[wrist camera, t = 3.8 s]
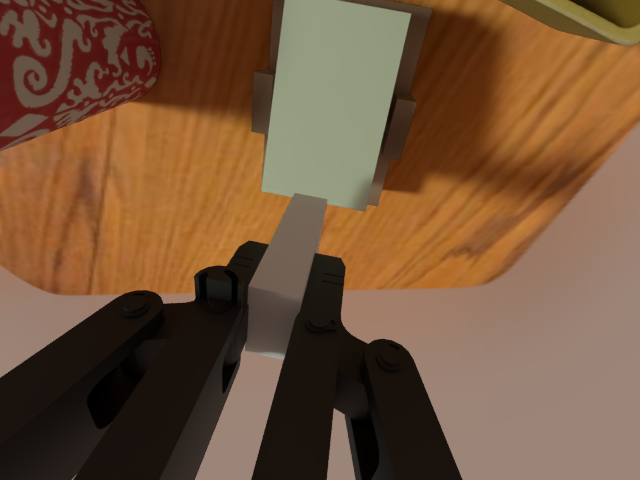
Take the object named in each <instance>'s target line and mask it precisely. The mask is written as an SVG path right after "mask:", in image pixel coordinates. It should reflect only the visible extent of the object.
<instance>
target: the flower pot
mask: <svg viewBox="0 0 640 480" xmlns="http://www.w3.org/2000/svg"><path fill="white" fill-rule="evenodd" d="M499 1H501V2H503V3H505V4H507V5H509V6H511V7H513V8H515V9H517V10H519V11H521V12H523V13H525V14H527V15H528V16H530V17H532V18H534V19H536V20H538V21H540V22H542V23H544V24H545V25H547V26H549V27H551V28H554V29H556V30H559V31H562V32H566V33H570V34H574V35H578V36H582V37H587V38H591V39H595V40H600V41H604V42H608V43H613V44H618V45H624V46H626V45H635V44H638V43H639V42H640V0H499Z"/></svg>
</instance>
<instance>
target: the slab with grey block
mask: <svg viewBox="0 0 640 480" xmlns="http://www.w3.org/2000/svg"><path fill="white" fill-rule="evenodd" d="M339 1H344V2H350V3H355V4H361V5H366V6H372V7H377V8H383V9H388V10H394V11H400V12H405V13H411V17H410V21H409V26H408V30H407V34H406V39H405V43H404V47H403V52H402V56H401V60H400V64H399V69H398V73H397V77H396V82H395V86H394V90H393V95H392V99H391V103H390V108H389V112H388V116H387V121H386V125H385V129H384V134H383V138H382V142H381V147H380V151H379V155H378V159H377V164H376V168H375V172H374V177H373V181H372V185H371V190H370V194H369V198H368V203H367V204H368V205H373V206H378V203H379V199H380V196H381V192H382V189H383V185H384V182H385V178H386V174H387V171H388V167H389V164H390V160H391V158H392V159H397V160H400V159H401V155H402V152H403V148H404V145H405V142H406V138H407V135H408V132H409V128H410V125H411V121H412V118H413V115H414V111H415V108H416V104H417V102H416V100H415V99H414V98H413V97H412V95H411V94H410V93H409V92H410V88H411V85H412V81H413V78H414V74H415V70H416V67H417V63H418V60H419V56H420V53H421V49H422V45H423V42H424V38H425V35H426V31H427V27H428V24H429V20H430V17H431V13H432V10H433V9H432V8H426V7H421V6H415V5H410V4H404V3H399V2H393V1H387V0H339ZM284 2H285V0H273V10H272V26H271V43H270V59H269V68H266V69H262V70H259V71H255V72H254V80H253V106H252V132H257V133H262V134H265V141H264V158H263V172H264V164H265V156H266V148H267V140H268V132H269V124H270V116H271V108H272V99H273V91H274V83H275V75H276V67H277V59H278V51H279V43H280V35H281V26H282V18H283V10H284ZM262 181H263V174H262Z"/></svg>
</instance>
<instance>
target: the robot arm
mask: <svg viewBox="0 0 640 480" xmlns="http://www.w3.org/2000/svg"><path fill="white" fill-rule="evenodd" d="M327 201H328V199H324V198H319V197H313V196H308V195H303V194H298V193H294V195H293V197H292V199H291V201H290V203H289V205H288V207H287V209H286V211H285V213H284V215H283V217H282V220H281V222H280V224H279V226H278V228H277V230H276V232H275V234H274V236H273V238H272V240H271V242H270V244H264V243H259V242H254V241H248V242H246V243H244V244H243V245H241V246H239V248H238V249H237V251H236V252H235V254H234V256H233V257H232V259H231V260H230V262H229V264H228V265H227V266H212V267H207V268H205V269H203V270H200V271H199V272H198V273H197V274H196V275H195V276H194V280H195V295H196V299H195V300H194V301H192V302H187V303H171V304H163V301H162V299H161V297H160V296H159V295H158V294H156V293H155V292H151V291H147V290H141V291H133V292H129V293H125V294H123V295H121V296H119V297H117V298H116V299H114V300H113V301H111V302H110V303H108V304H107V305H105V306H104V307H103V308H101V309H100V310H98V311H97V312H95V313H94V314H93V315H91V316H90V317H88V318H86V319H85V320H84V321H82V322H81V323H79V324H78V325H76V326H75V327H74V328H72V329H71V330H69V331H68V332H66V333H65V334H63V335H62V336H60V337H59V338H57V339H56V340H55V341H53V342H52V343H50V344H49V345H47V346H46V347H45V348H43V349H41V350H40V351H39V352H37V353H36V354H34V355H33V356H31V357H30V358H28V359H27V360H26V361H24V362H23V363H21V364H20V365H18V366H17V367H15V368H14V369H12V370H11V371H10V372H8V373H7V374H5V375H4V376H2V377H1V378H0V480H72V478H73V477H74V476H75V475H76V474H77V473H78V474H77V475H76V477H75V478H74V480H195V478H196V475H197V473H198V470H199V467H200V465H201V462H202V460H203V458H204V455H205V452H206V450H207V447H208V445H209V442H210V440H211V437H212V435H213V432H214V430H215V427H216V425H217V422H218V420H219V417H220V415H221V412H222V410H223V407H224V404H225V402H226V399H227V397H228V394H229V392H230V389H231V387H232V384H233V382H234V379H235V377H236V374H237V372H238V369H239V366H240V358H241V352H242V350H243V347H244V345H245V342H246V345H245V352H249V353H254V354H259V355H264V356H268V357H273V358H277V359H282V360H284V361H283V365H282V369H281V373H280V376H279V380H278V383H277V387H276V391H275V394H274V398H273V402H272V406H271V409H270V413H269V416H268V420H267V424H266V428H265V431H264V435H263V439H262V442H261V446H260V450H259V453H258V457H257V461H256V464H255V468H254V472H253V476H252V480H327V470H328V460H329V450H330V439H331V430H332V420H333V409H334V408H335V409H336V410H338V411H340V412H342V413H343V414H345V420H346V426H347V431H348V438H349V443H350V449H351V454H352V461H353V467H354V472H355V478H356V480H462V478H461V475H460V473H459V470H458V468H457V466H456V463H455V460H454V458H453V456H452V453H451V451H450V448H449V446H448V444H447V441H446V438H445V436H444V433H443V431H442V429H441V426H440V424H439V421H438V419H437V416H436V414H435V412H434V409H433V407H432V404H431V402H430V399H429V397H428V394H427V392H426V389H425V387H424V384H423V382H422V379H421V377H420V374H419V372H418V370H417V367H416V365H415V362H414V360H413V358H412V357H411V355H410V353H409V352H408V351H407V350H406V349H405V348H404V347H403V346H402V345H400V344H398V343H396V342H394V341H392V340H386V339H378V340H374V341H372V342H371V343H369V344H367V343H365V342H363V341H361V340H359V339H357V338H356V337H354V336H353V335H351V334H350V333H349V332H348V331H347V330H346V329H345V327H344V326H343V324H342V321H341V306H342V296H343V287H344V277H345V268H346V267H345V265H344V263H343V261H342V259H341V258H337V257H332V256H328V255H323V254H318V250H319V244H320V239H321V233H322V228H323V222H324V217H325V212H326V206H327Z"/></svg>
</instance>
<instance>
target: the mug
mask: <svg viewBox="0 0 640 480" xmlns="http://www.w3.org/2000/svg"><path fill="white" fill-rule="evenodd" d="M160 64H161V53H160V46H159V41H158V37H157V33H156V30H155V28H154V26H153V24H152V22H151V19H150V17H149V16H148V14H147V12H146V11H145V9H144V8H143V6H142V5H141V3H140V2H139V1H138V0H0V151H2V150H4V149H7V148H10V147H13V146H16V145H18V144H20V143H23V142H26V141H29V140H31V139H34V138H36V137H38V136H41V135H43V134H46V133H48V132H51V131H54V130H57V129H59V128H62V127H65V126H67V125H70V124H73V123H76V122H79V121H82V120H83V119H86V118H88V117H91V116H94V115H96V114H99V113H101V112H104V111H106V110H109V109H111V108H114V107H117V106H119V105H122V104H125V103H128V102H130V101H133V100H135V99H138V98H139V97H141V96H143V95H145V94H146V93H147V92H148V91H149V90H150V89H151V88H152V87H153V85H154V83H155V82H156V80H157V77H158V74H159V71H160Z"/></svg>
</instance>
